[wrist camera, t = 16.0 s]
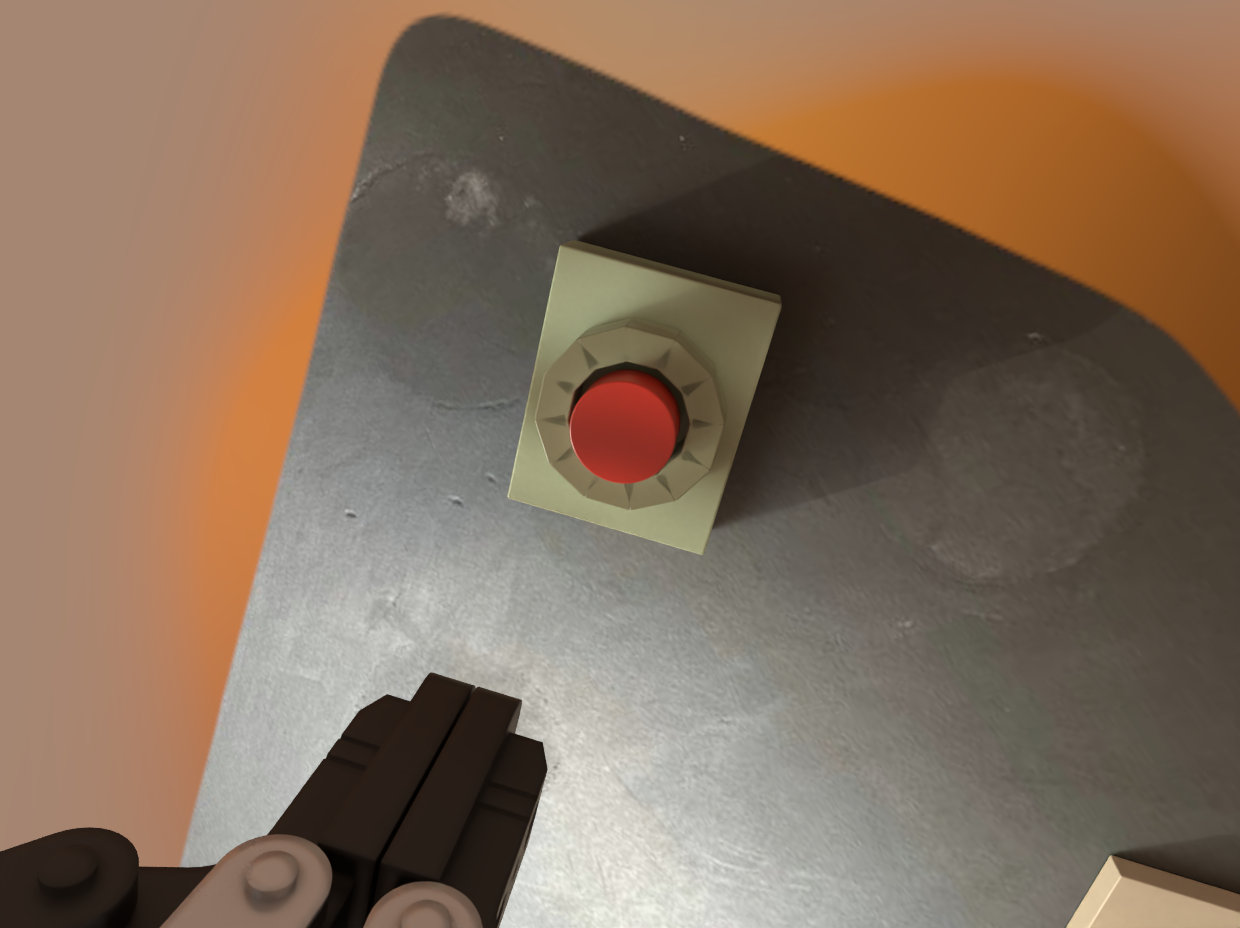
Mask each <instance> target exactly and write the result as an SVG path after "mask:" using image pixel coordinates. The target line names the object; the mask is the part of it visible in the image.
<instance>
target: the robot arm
mask: <svg viewBox="0 0 1240 928" xmlns="http://www.w3.org/2000/svg"><path fill="white" fill-rule="evenodd" d="M521 705H522V700H520V699H517V698H514V697H510V696H507V695H504V694H501V693H497V692H494V691H491V690H488V689H484V688H481V687H477V688H475V686H474V685H471V684H468V683H464V682H461V681H458V680H455V679H451V678H448V677H445V676H442V675H438V674H435V673H429V674H428V676H427V677H426V678H425V680H424V681H423V683H422V684H421V686H420V687H419V689H418V690H417V692H416V694H415V695H414V697H413V698H412V700H411V701H407V700H404V699H401V698H397V697H394V696H391V695H388V694H387V695H385V696H383V697H382V698H380V699H378V700H377V701H375V702H373V703H372V704H370V705H368V706H366V707H365V708H363V709H361V710H360V711H359V712H358V713H357V715H356V716H355V717H354V719H353V720H352V721H351V723H350V724H349V725H348V727H347V728H346V729H345V731H344V732H343V734H342V736H341V738H340V739H338V740H337V742H336V743H335V744H334V746H333V747H332V748H331V750H330V751H329V752H328V754H327V757H326V759H323V761H322V762H321V763H320V765H319V766H318V767H317V769H316V770H315V771H314V773H313V774H312V775H311V777H310V778H309V780H308V781H307V782H306V784H305V785H304V786H303V788H302V789H301V790H300V792H299V793H298V794H297V796H296V797H295V798H294V800H293V801H292V803H291V804H290V805H289V807H288V808H287V809H286V811H285V812H284V813H283V815H282V816H281V817H280V819H279V820H278V821H277V823H276V824H275V826H274V827H273V828H272V830H271V831H270V832H269V833H268V834H267V835H266V836H262V837H258V838H254V839H252V840H249V841H246V842H244V843H242V844H241V845H239V846H237V847H235V848H234V849H232V850H231V851H230V852H228V853H227V854H226V855H225V856H224V857H223V858H222V859H221V860H220V861H219V862H218V863H217V864H215V865H210V866H204V867H189V868H186V867H139V858H138V855H137V851H136V849H135V847H134V846H133V844H132V843H131V842H130V841H129V840H128V839H127V838H125V837H124V836H122V835H120V834H119V833H116V832H114V831H111V830H107V829H102V828H76V829H70V830H65V831H62V832H58V833H54V834H51V835H48V836H45V837H42V838H39V839H37V840H33V841H31V842H28V843H25V844H22V845H19V846H16V847H13V848H10V849H7V850H4V851H1V852H0V928H499V926H500V923H501V920H502V917H503V914H504V911H505V908H506V906H507V903H508V900H509V896H510V894H511V891H512V888H513V885H514V882H515V879H516V876H517V873H518V871H519V868H520V865H521V862H522V859H523V856H524V853H525V850H526V847H527V845H528V841H529V838H530V834H531V830H532V826H533V822H534V819H535V815H536V811H537V807H538V803H539V800H540V796H541V792H542V788H543V785H544V781H545V777H546V773H547V764H546V759H545V753H544V747H543V742H539V741H536V740H533V739H530V738H527V737H523V736H520V735H517V734H515V731H516V727H517V723H518V719H519V715H520V710H521Z"/></svg>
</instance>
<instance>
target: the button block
mask: <svg viewBox="0 0 1240 928" xmlns="http://www.w3.org/2000/svg"><path fill="white" fill-rule="evenodd" d="M781 308H782V304H781V298H780V296H779V295H777V294H773V293H769V292H766V291H762V290H758V289H755V288H751V287H747V286H744V285H740V284H736V283H732V282H729V281H725V280H721V279H718V278H714V277H710V276H706V275H703V274H699V273H695V272H692V271H688V270H684V269H681V268H677V267H673V266H669V265H666V264H662V263H658V262H655V261H651V260H647V259H643V258H640V257H636V256H632V255H629V254H625V253H621V252H618V251H614V250H610V249H606V248H603V247H599V246H595V245H592V244H588V243H584V242H580V241H577V240H572V241H570V242H567V243H565V244H562V245H560V247H559V252H558V257H557V262H556V267H555V271H554V276H553V281H552V286H551V290H550V295H549V300H548V305H547V310H546V314H545V319H544V324H543V329H542V333H541V338H540V343H539V348H538V353H537V357H536V362H535V367H534V372H533V377H532V381H531V386H530V391H529V396H528V400H527V405H526V410H525V415H524V420H523V424H522V429H521V434H520V439H519V443H518V448H517V453H516V458H515V463H514V467H513V472H512V477H511V482H510V487H509V491H508V498H509V499H513V500H516V501H519V502H523V503H526V504H530V505H533V506H537V507H540V508H543V509H547V510H550V511H554V512H557V513H561V514H564V515H567V516H571V517H574V518H578V519H581V520H584V521H588V522H591V523H595V524H598V525H602V526H605V527H608V528H612V529H615V530H619V531H622V532H626V533H629V534H632V535H636V536H639V537H643V538H646V539H649V540H653V541H656V542H660V543H663V544H667V545H670V546H673V547H677V548H680V549H684V550H687V551H691V552H694V553H697V554H701V555H703V554H704V553H705V549H706V546H707V543H708V540H709V537H710V533H711V530H712V527H713V524H714V521H715V518H716V514H717V511H718V508H719V505H720V502H721V498H722V495H723V492H724V489H725V486H726V483H727V479H728V476H729V473H730V470H731V467H732V463H733V460H734V457H735V454H736V451H737V448H738V444H739V441H740V438H741V435H742V432H743V428H744V425H745V422H746V419H747V416H748V413H749V409H750V406H751V403H752V400H753V397H754V393H755V390H756V387H757V384H758V381H759V378H760V374H761V371H762V368H763V365H764V362H765V358H766V355H767V352H768V349H769V346H770V343H771V339H772V336H773V333H774V330H775V327H776V323H777V320H778V317H779V314H780V311H781ZM623 369H631V370H638V371H643V372H645V373H648V374H650V375H652V376H654V377H656V378H657V379H659V380H660V381H661V382H663V383H664V384H665V385H666V386H667V387H668V389H669V390H670V391H671V392H672V394H673V395H674V397H675V399H676V401H677V404H678V407H679V411H680V430H679V434H678V438H677V441H676V444H675V447H674V450H673V453H672V455H671V457H670V459H669V461H668V462H667V464H666V465H665V466H664V467H663V468H662V469H661V470H660V471H659V472H658V473H656V474H655V475H654V476H652V477H650V478H648V479H646V480H644V481H640V482H637V483H629V484H622V483H614V482H610V481H607V480H604V479H602V478H600V477H598V476H596V475H595V474H593V473H592V472H590V471H589V470H588V469H587V468H586V467H585V466H584V465H583V464H582V463H581V462H580V460H579V459H578V457H577V456H576V454H575V452H574V450H573V447H572V444H571V440H570V433H569V425H570V419H571V415H572V412H573V410H574V408H575V406H576V404H577V403H578V401H579V400H580V398H581V397H582V396H583V394H584V393H585V392H586V391H587V389H588V388H589V387H590V386H591V385H592V384H593V383H594V382H595V381H596V380H597V379H598V378H600V377H602V376H603V375H605V374H607V373H610V372H613V371H617V370H623Z"/></svg>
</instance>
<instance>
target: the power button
mask: <svg viewBox="0 0 1240 928" xmlns="http://www.w3.org/2000/svg"><path fill="white" fill-rule="evenodd" d="M679 430H680V411H679V407H678V404H677V401H676V399H675V397H674V395H673V394H672V392H671V391H670V390H669V389H668V387H667V386H666V385H665V384H664V383H663V382H661V381H660V380H659V379H657V378H656V377H654V376H652V375H650V374H648V373H645V372H643V371H638V370H631V369H623V370H617V371H613V372H610V373H607V374H605V375H603V376H602V377H600V378H598V379H597V380H596V381H595V382H594V383H593V384H592V385H591V386H590V387H589V388H588V389H587V391H586V392H585V393H584V394H583V396H582V397H581V398H580V400H579V401H578V403H577V404H576V406H575V408H574V410H573V412H572V415H571V419H570V425H569V433H570V440H571V444H572V447H573V450H574V452H575V454H576V456H577V457H578V459H579V460H580V462H581V463H582V464H583V465H584V466H585V467H586V468H587V469H588V470H589V471H590V472H592V473H593V474H595V475H596V476H598V477H600V478H602V479H604V480H607V481H610V482H614V483H622V484H629V483H637V482H640V481H644V480H646V479H648V478H650V477H652V476H654V475H655V474H656V473H658V472H659V471H660V470H661V469H662V468H663V467H664V466H665V465H666V464H667V462H668V461H669V459H670V457H671V455H672V453H673V450H674V447H675V444H676V441H677V438H678V434H679Z"/></svg>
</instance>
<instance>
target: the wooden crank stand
mask: <svg viewBox="0 0 1240 928" xmlns="http://www.w3.org/2000/svg"><path fill="white" fill-rule="evenodd" d="M1066 928H1240V894H1237V893H1233V892H1230V891H1227V890H1224V889H1220V888H1217V887H1214V886H1210V885H1207V884H1204V883H1201V882H1197V881H1194V880H1191V879H1188V878H1184V877H1181V876H1178V875H1175V874H1171V873H1168V872H1165V871H1162V870H1158V869H1155V868H1152V867H1148V866H1145V865H1142V864H1139V863H1135V862H1132V861H1129V860H1126V859H1122V858H1119V857H1116V856H1113V855H1110V857H1109V858H1108V860H1107V861H1106V863H1105V865H1104V866H1103V868H1102V870H1101V871H1100V873H1099V874H1098V876H1097V878H1096V879H1095V881H1094V883H1093V884H1092V886H1091V888H1090V889H1089V891H1088V892H1087V894H1086V896H1085V897H1084V899H1083V901H1082V902H1081V904H1080V906H1079V907H1078V909H1077V910H1076V912H1075V914H1074V915H1073V917H1072V919H1071V920H1070V922H1069V924H1068V925H1067V927H1066Z"/></svg>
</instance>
